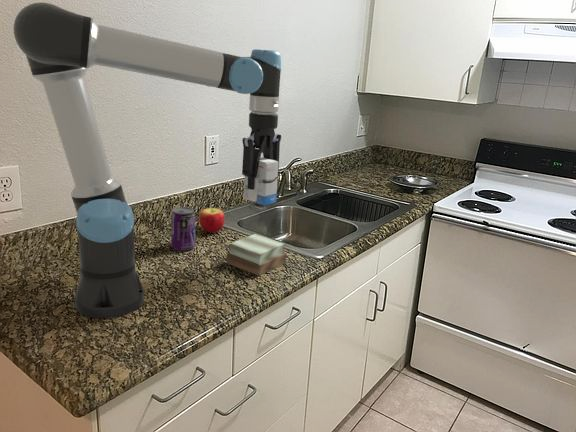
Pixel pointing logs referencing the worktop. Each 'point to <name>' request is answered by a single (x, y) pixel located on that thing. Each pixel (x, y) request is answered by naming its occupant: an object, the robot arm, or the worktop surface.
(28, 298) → the worktop surface
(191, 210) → the beverage can
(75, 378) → the worktop surface
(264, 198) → the ink box
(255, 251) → the pedestal
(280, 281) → the worktop surface
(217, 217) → the apple
